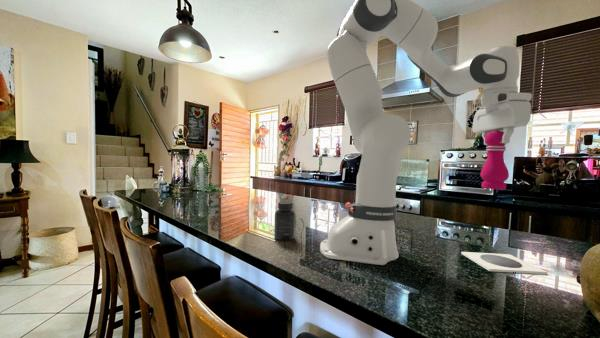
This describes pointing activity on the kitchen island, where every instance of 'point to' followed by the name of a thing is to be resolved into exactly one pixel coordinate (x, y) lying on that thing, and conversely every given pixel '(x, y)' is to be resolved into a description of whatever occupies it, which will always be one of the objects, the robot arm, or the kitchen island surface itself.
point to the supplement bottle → (284, 222)
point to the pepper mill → (494, 162)
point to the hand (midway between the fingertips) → (495, 144)
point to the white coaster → (502, 263)
